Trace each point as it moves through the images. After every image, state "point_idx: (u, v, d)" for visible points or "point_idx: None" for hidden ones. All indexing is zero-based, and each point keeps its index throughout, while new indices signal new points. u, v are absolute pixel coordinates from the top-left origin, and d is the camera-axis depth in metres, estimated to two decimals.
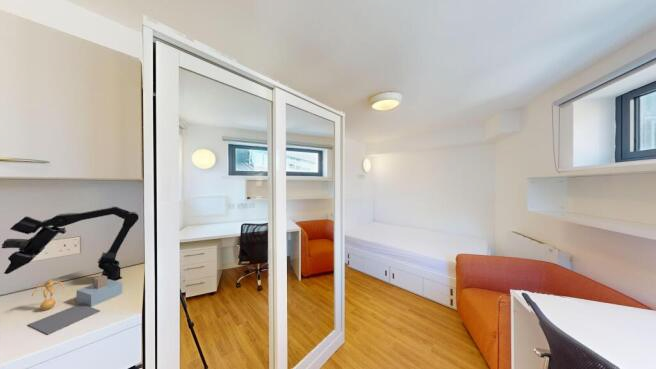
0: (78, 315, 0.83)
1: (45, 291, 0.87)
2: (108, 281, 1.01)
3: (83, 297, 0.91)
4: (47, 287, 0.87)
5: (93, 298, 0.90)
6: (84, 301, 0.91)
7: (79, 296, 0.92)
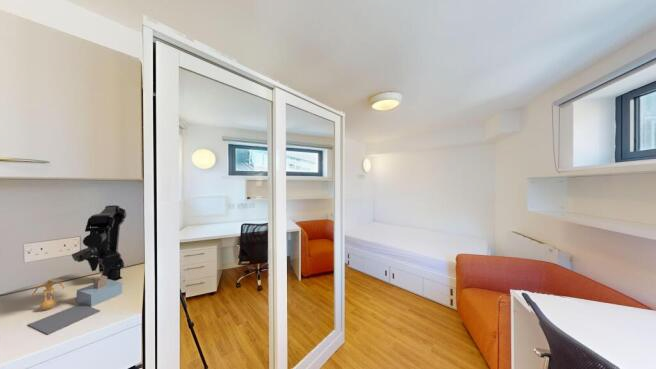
0: (78, 315, 0.83)
1: (45, 291, 0.87)
2: (108, 281, 1.01)
3: (83, 297, 0.91)
4: (47, 287, 0.87)
5: (93, 298, 0.90)
6: (84, 301, 0.91)
7: (79, 296, 0.92)
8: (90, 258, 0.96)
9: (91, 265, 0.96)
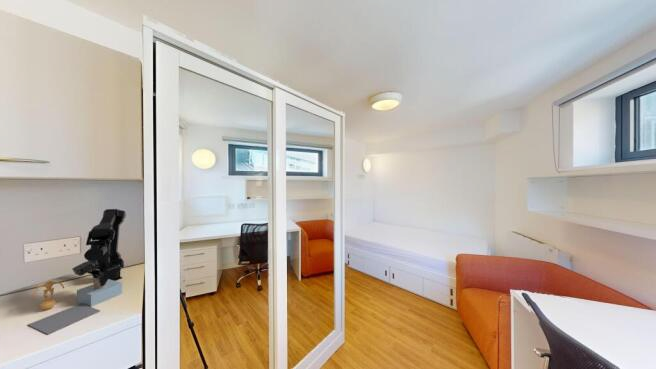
0: (78, 315, 0.83)
1: (45, 291, 0.87)
2: (108, 281, 1.01)
3: (83, 297, 0.91)
4: (47, 287, 0.87)
5: (93, 298, 0.90)
6: (84, 301, 0.91)
7: (79, 296, 0.92)
8: (94, 272, 0.95)
9: None
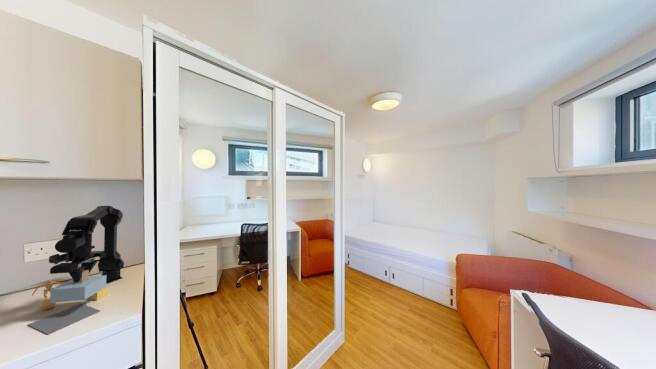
0: (78, 315, 0.83)
1: (45, 291, 0.87)
2: (96, 278, 0.91)
3: None
4: (47, 287, 0.87)
5: (52, 294, 0.81)
6: None
7: None
8: (82, 263, 0.89)
9: None
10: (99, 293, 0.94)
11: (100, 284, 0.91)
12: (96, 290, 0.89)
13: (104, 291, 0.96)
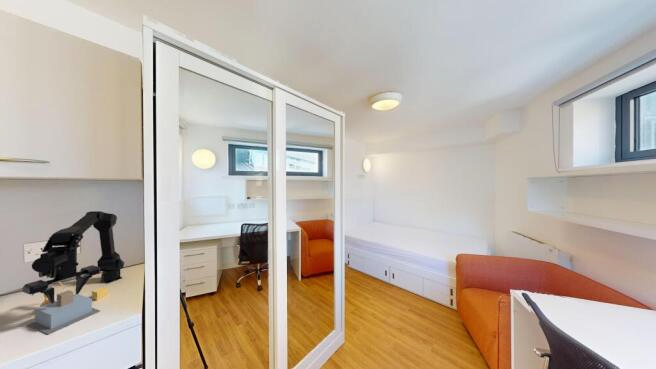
0: None
1: None
2: (79, 302, 0.83)
3: None
4: None
5: (36, 313, 0.78)
6: None
7: None
8: (77, 278, 0.86)
9: None
10: (99, 293, 0.94)
11: (81, 309, 0.83)
12: (73, 316, 0.81)
13: (104, 291, 0.96)
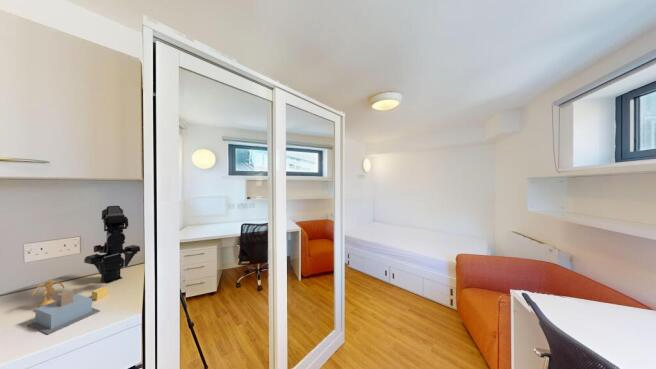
0: None
1: (45, 291, 0.87)
2: (79, 302, 0.83)
3: None
4: (47, 287, 0.87)
5: (36, 313, 0.78)
6: None
7: None
8: (125, 254, 1.04)
9: (125, 260, 1.04)
10: (99, 293, 0.94)
11: (81, 309, 0.83)
12: (73, 316, 0.81)
13: (104, 291, 0.96)
